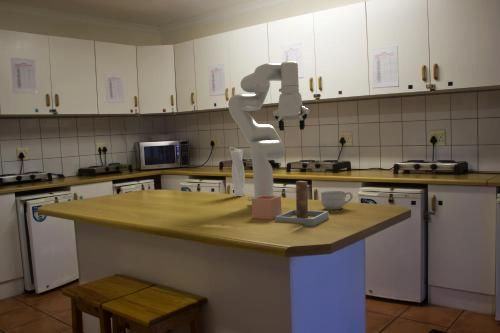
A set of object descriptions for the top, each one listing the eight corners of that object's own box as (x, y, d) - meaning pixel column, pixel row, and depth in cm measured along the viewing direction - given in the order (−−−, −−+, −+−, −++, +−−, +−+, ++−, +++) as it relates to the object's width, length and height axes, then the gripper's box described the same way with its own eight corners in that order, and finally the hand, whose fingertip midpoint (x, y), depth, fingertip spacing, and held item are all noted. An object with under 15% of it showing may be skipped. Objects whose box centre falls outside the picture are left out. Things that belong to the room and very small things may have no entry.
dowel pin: (294, 219, 189) (293, 182, 187) (299, 217, 192) (298, 180, 191) (305, 220, 186) (304, 182, 185) (309, 218, 190) (309, 181, 189)
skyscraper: (233, 197, 263) (230, 147, 261) (230, 195, 270) (227, 146, 268) (247, 196, 265) (244, 146, 263) (243, 194, 272) (241, 146, 270)
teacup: (318, 210, 211) (317, 192, 210) (325, 206, 220) (325, 189, 220) (348, 211, 204) (348, 193, 204) (355, 207, 214) (354, 189, 213)
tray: (275, 223, 186) (275, 216, 186) (292, 216, 200) (292, 209, 200) (313, 226, 178) (313, 219, 178) (328, 218, 192) (328, 211, 192)
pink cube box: (252, 220, 196) (251, 198, 195) (263, 216, 204) (261, 195, 203) (271, 221, 191) (270, 199, 191) (281, 217, 199) (280, 196, 198)
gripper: (268, 91, 206) (270, 131, 208) (305, 88, 198) (306, 129, 199) (276, 92, 213) (278, 130, 214) (312, 89, 204) (313, 129, 205)
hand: (291, 130), depth 207 cm, fingers open, 9 cm apart
